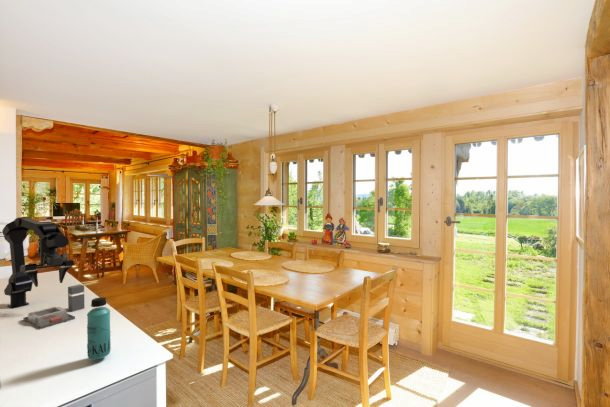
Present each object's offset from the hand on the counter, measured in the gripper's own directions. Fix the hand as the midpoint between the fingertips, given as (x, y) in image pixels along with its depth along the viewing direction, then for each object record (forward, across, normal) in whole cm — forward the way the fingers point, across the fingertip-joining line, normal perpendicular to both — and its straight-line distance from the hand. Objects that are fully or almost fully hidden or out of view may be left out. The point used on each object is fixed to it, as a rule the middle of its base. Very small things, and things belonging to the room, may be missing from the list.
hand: (49, 284), depth 140 cm
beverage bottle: (+25, -11, -58) cm, 64 cm away
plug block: (+13, +10, -1) cm, 17 cm away
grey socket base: (+15, -2, -4) cm, 15 cm away
